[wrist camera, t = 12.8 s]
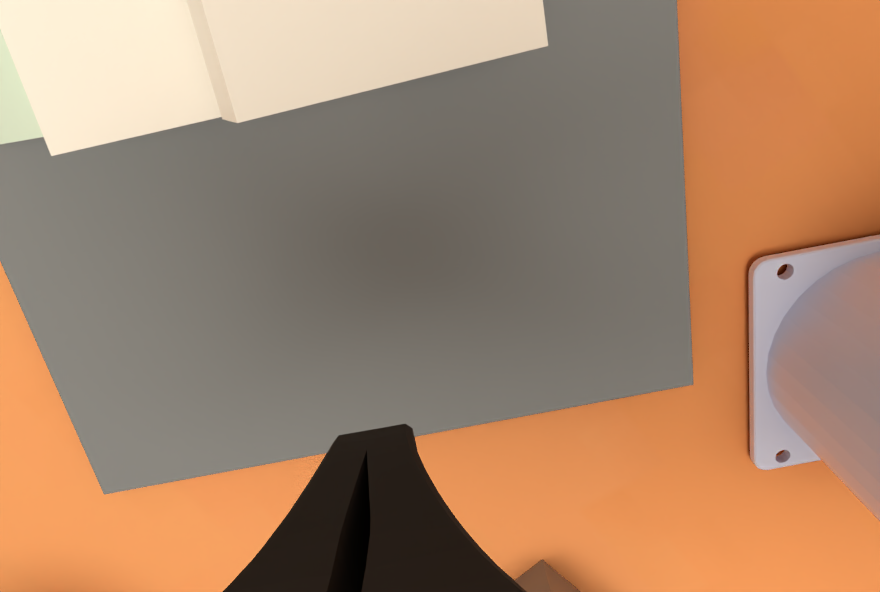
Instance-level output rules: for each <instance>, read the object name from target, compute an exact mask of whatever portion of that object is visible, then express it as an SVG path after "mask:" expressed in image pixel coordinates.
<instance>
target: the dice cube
mask: <svg viewBox="0 0 880 592" xmlns="http://www.w3.org/2000/svg"><path fill="white" fill-rule="evenodd" d="M514 581H515V582H516V583H518V584H519V585H520V586H521V587H522V588H523V589H524V590H525V591H527V592H580V591H579V590H578V589H577V588H575V587H574V586H573V585H572V584H571V583H569V582H568V581H567V580H566V579H565V578H564V577H562V576H561V575H560V574H559V573H558V572H556V571H555V570H554V569H553V568H552V567H551V566H549V565H548V564H547V563H546V562H545V561H543V560H541V561H539V562H538V563H537V564H536V565H534V566H533V567H532V568H530V569H529V570H528V571H526V572H525V573H524V574H522V575H521V576H520V577H518V578H517V579H516V580H514Z"/></svg>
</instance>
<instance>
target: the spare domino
mask: <svg viewBox="0 0 880 592" xmlns="http://www.w3.org/2000/svg"><path fill="white" fill-rule="evenodd" d="M40 137H43V134H42V132H41V129H40V127H39V124H38V122H37V119H36V117H35V114H34V112H33V109H32V107H31V104H30V102H29V99H28V97H27V94H26V92H25V89H24V87H23V84H22V82H21V79H20V77H19V74H18V72H17V69H16V67H15V64H14V62H13V59H12V57H11V54H10V52H9V49H8V47H7V44H6V42H5V39H4V37H3V34H2V32H1V29H0V144H5V143H11V142H17V141H23V140H29V139H34V138H40Z"/></svg>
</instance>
